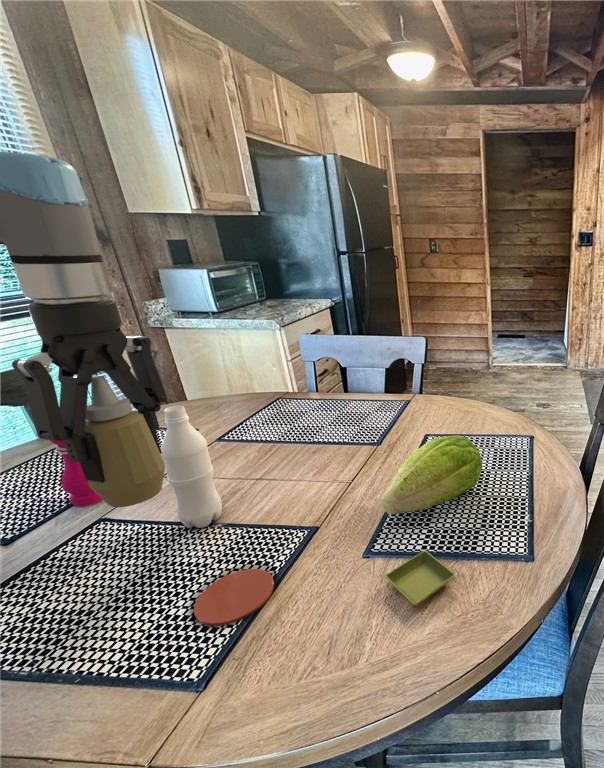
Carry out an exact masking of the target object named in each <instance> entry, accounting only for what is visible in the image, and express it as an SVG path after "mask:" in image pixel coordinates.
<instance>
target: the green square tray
mask: <svg viewBox="0 0 604 768" xmlns="http://www.w3.org/2000/svg"><path fill="white" fill-rule="evenodd" d="M455 576H456V574H455V573H454V572H453V571H452V570H451V569H449V568H448V567H447V566H445V564H443V563H442V562H441V561H440V560H438V559H437V558H436V557H435V556H433V555H432V554H431V553H430V552H428V551H427V550H423V551H421V552H419V553H418V554H416V555H414V556H413V557H411V558H410V559H408V560H407V561H405V562H404V563H402V564H400V565H398V566H397V567H396V568H394V569H393V570H391V571H389V572H388V573H386V574H385V575H384V578H385V579H386V580H387V581H388V583H390V584H391V585H392V586H393V587H394V588H395V589H396V590H397V591H398V592H399V593H400V594H401V595H402V596H403V597H405V599H407V601H408V602H409V603H411V604H412V606H414V607H415V606H416V607H417V606H418V605H420V604H421V603H422V602H424V601H425V600H426V599H428V598H429V597H431V596H432V595H433V594H435V593H436V592H438V591H439V590H440V589H442V588H443V587H444V586H445V585H447V584H448V583H449V582H450V581H452V580H453V579H454V578H455Z"/></svg>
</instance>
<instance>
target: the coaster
mask: <svg viewBox="0 0 604 768" xmlns="http://www.w3.org/2000/svg"><path fill="white" fill-rule="evenodd" d="M274 589H275V580H274V577H273V575H272V574H271V573H270V572H269V571H267V570H265V569H261V568H246V569H241V570H237V571H234V572H231V573H229V574H226V575H224V576H222V577H220V578H218V579H217V580H215V581H213V582H212V583H211V584H210V585H208V586H207V587H206V588H205V589H204V590H203V591H202V592H201V593H200V594H199V596H198V597H197V599H196V601H195V603H194V606H193V614H194V616H195V619H196V621H197V622H199V623H200V624H202V625H205V626H207V627H208V626H209V627H221V626H227V625H231V624H234V623H237V622H239V621H242V620H243V619H247V617H249V616H251V615H253V614H254V613H256V612H257V611H259V610H260V608H261V607H263V606H264V605H265V604H266V603H267V602H268V601H269V600H270V598H271V596H272V594H273V592H274Z"/></svg>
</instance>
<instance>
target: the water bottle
mask: <svg viewBox="0 0 604 768" xmlns="http://www.w3.org/2000/svg"><path fill="white" fill-rule="evenodd" d="M163 412H164V416H165V418H164V419H165V420H164V423H165V424H166V426H167V427H166V428H167V429H166V432H165V435H164V437H163V439H162V443H161V445H160V448H161V452H162V454H161V456H162V458H163V461H164V463H165V472H166V474H167V482H168V484H169V485H170V487H171V488H172V490H173V492H174V495H175V500H176V513H177V516H178V519H179V521H180V523H182V525H183V526H184V527H185V528H187V529H191V528H193V527H196V528H197V529H203V528H206V527H208V526H209V525H210V524H211V523H212V521H217V520H219V518H220V517H221V514H222V509H223V504H222V500H221V496H220V495H219V493H218V491H217V488H216V486H215V482H214V481H215V480H214V465H213V464H212V461H211V457H210V453H209V449H208V442H207V440H206V438H205V437H204V436H203V435H202V434H201V433H200V432H199V431H198V430H197V429H196V428H194V426H192V424H191V423H190V421H189V419H190V417H189V415H188V414H187V412H186V408H185V406H183V405H174V406H169V407H166V408H164V410H163Z"/></svg>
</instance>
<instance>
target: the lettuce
mask: <svg viewBox="0 0 604 768" xmlns="http://www.w3.org/2000/svg"><path fill="white" fill-rule="evenodd" d="M482 471H483V461H482V456H481V452H480V451H479V449H478V447H476V445H475V444H474V443H473V442H472V441H471V440H470V439H468V438H467V437H466V436H463V435H460V434H459V435H446V436H438V437H434V438H432V439H431V440H429V441H427V442H425V443H424V444H423V445H421V446H420V447H418V448H417V449H415V451H414V452H413V453H412V454H411V455H410V456H409V457H408V458H407V459H406V460H405V461H404V463H403V464H402V465H401V467H400V468H399V470H398V471H397V473H396V474H395V476H394V478H393V480H392V482H391V484H390V486H389V487H388V489H387V490H386V491H385V492H384V494H383V495H382V496H381V498H380V504H381V507H382V508H383V510H384V512H385V513H387V515H391V516H392V515H400V514H405V513H413V512H419V511H426V510H428V509H431V508H432V507H435V506H436V505H438V504H442V503H445V502H448V501H451V500H453V499H455V498H457V497H459V496H461V495H463V494H465V493H467V492H469V491H470V490H471V489H473V488H474V487H475V486H476V485H477V483H478V481H479V479H480V476H481V474H482Z"/></svg>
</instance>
